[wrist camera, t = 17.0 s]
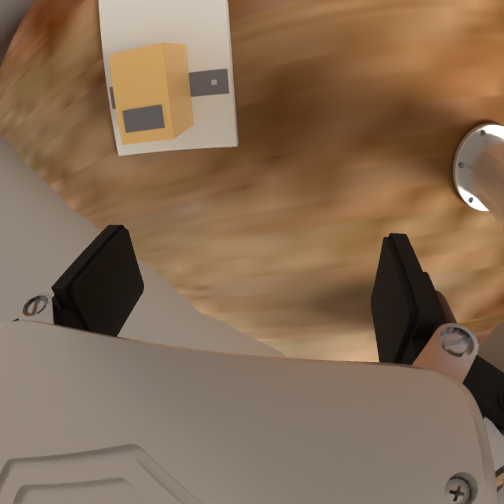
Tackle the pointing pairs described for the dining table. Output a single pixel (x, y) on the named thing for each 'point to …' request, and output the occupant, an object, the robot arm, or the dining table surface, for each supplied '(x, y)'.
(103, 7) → the white flat panel
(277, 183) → the dining table surface
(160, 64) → the tan rectangular block
